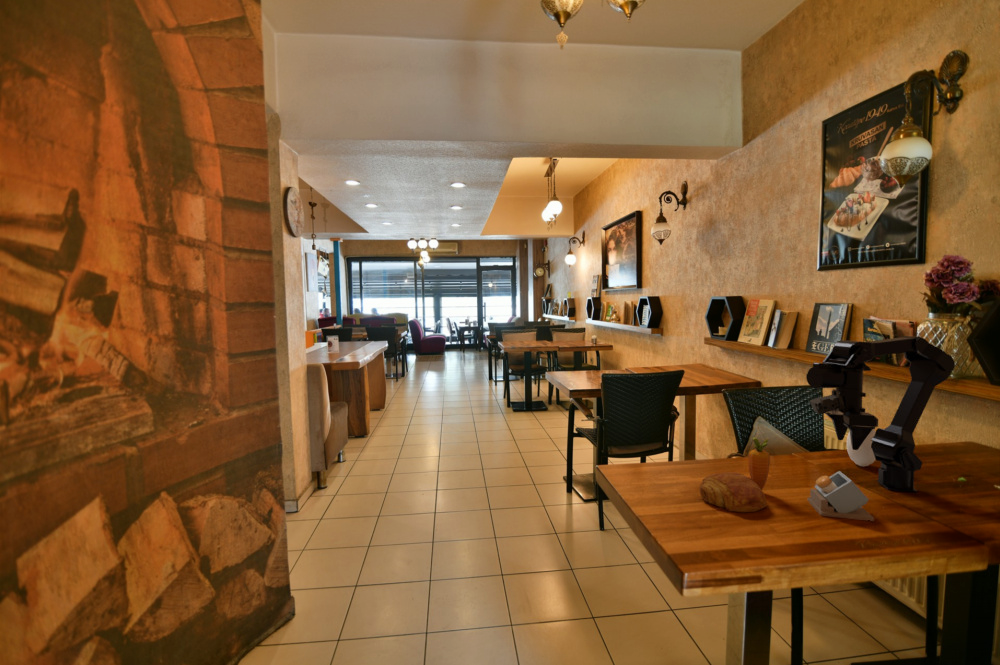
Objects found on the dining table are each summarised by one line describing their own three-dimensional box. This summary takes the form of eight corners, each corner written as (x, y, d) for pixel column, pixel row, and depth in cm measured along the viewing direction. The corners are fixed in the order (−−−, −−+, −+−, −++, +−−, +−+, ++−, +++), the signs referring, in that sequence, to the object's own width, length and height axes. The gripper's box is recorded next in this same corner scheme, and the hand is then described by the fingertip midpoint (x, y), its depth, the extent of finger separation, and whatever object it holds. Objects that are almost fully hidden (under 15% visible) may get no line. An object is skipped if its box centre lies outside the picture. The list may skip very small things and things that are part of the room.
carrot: (768, 490, 124) (769, 435, 123) (770, 497, 120) (771, 440, 119) (747, 487, 126) (748, 433, 126) (748, 494, 122) (749, 438, 121)
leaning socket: (856, 505, 114) (857, 471, 114) (873, 521, 106) (875, 484, 105) (807, 500, 117) (808, 467, 117) (820, 515, 109) (821, 479, 108)
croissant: (692, 500, 124) (688, 471, 123) (746, 490, 125) (742, 461, 125) (722, 523, 109) (717, 491, 109) (783, 511, 110) (779, 479, 110)
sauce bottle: (881, 471, 138) (883, 412, 137) (849, 467, 141) (851, 410, 140) (873, 463, 145) (875, 407, 144) (843, 460, 148) (844, 405, 147)
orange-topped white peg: (846, 496, 112) (825, 473, 114) (852, 502, 109) (830, 478, 110) (834, 504, 113) (813, 481, 114) (840, 509, 110) (818, 486, 111)
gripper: (802, 381, 134) (801, 433, 135) (827, 392, 116) (826, 452, 117) (847, 382, 131) (845, 436, 131) (880, 394, 113) (878, 456, 113)
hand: (847, 444), depth 123 cm, fingers open, 9 cm apart
